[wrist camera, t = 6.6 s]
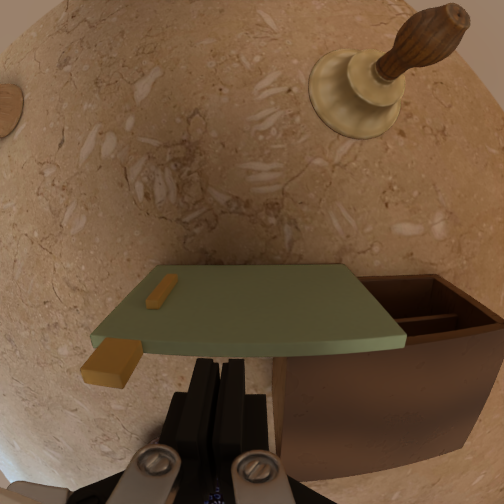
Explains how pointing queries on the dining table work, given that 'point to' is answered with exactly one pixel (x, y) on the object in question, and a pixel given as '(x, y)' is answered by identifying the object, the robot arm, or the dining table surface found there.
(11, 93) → the beer glass
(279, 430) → the cupboard
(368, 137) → the hand bell
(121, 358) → the sliding door
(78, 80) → the dining table surface
